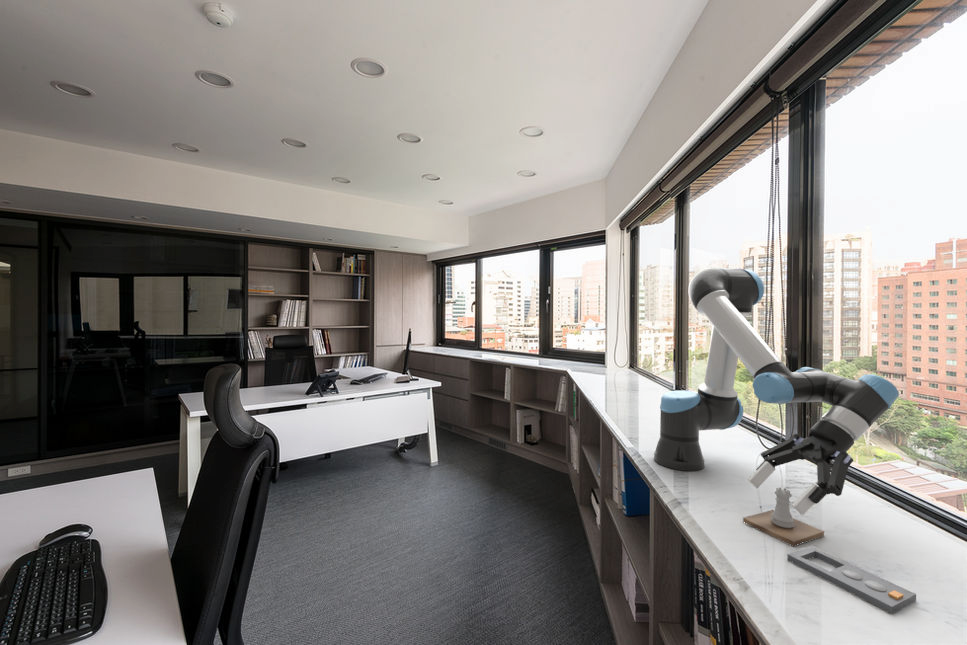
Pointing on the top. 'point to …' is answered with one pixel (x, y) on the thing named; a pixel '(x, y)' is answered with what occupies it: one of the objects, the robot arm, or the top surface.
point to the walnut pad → (783, 529)
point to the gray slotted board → (855, 580)
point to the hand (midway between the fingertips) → (773, 496)
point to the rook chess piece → (782, 509)
